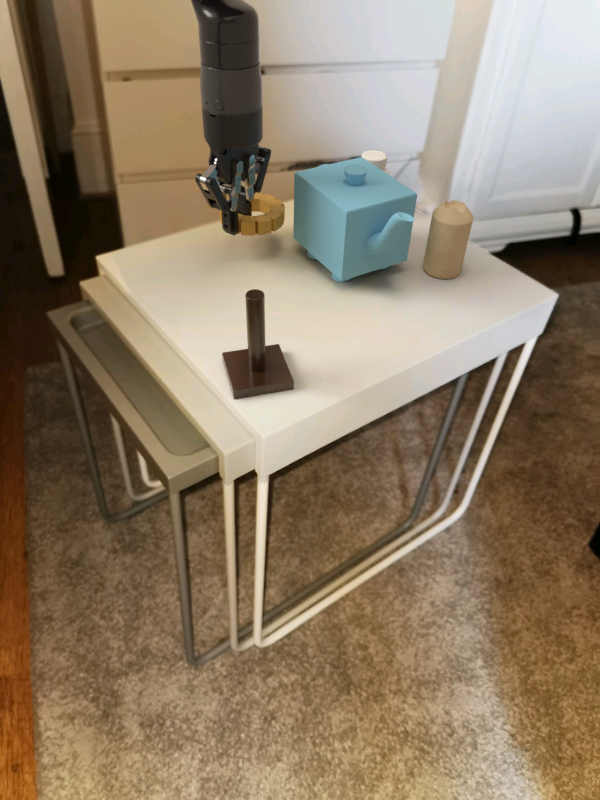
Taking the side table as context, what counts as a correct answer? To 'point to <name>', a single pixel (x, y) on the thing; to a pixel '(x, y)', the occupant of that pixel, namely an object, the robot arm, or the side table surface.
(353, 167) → the teapot
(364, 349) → the side table surface
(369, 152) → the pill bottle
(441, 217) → the candle
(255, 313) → the post
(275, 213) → the ring
